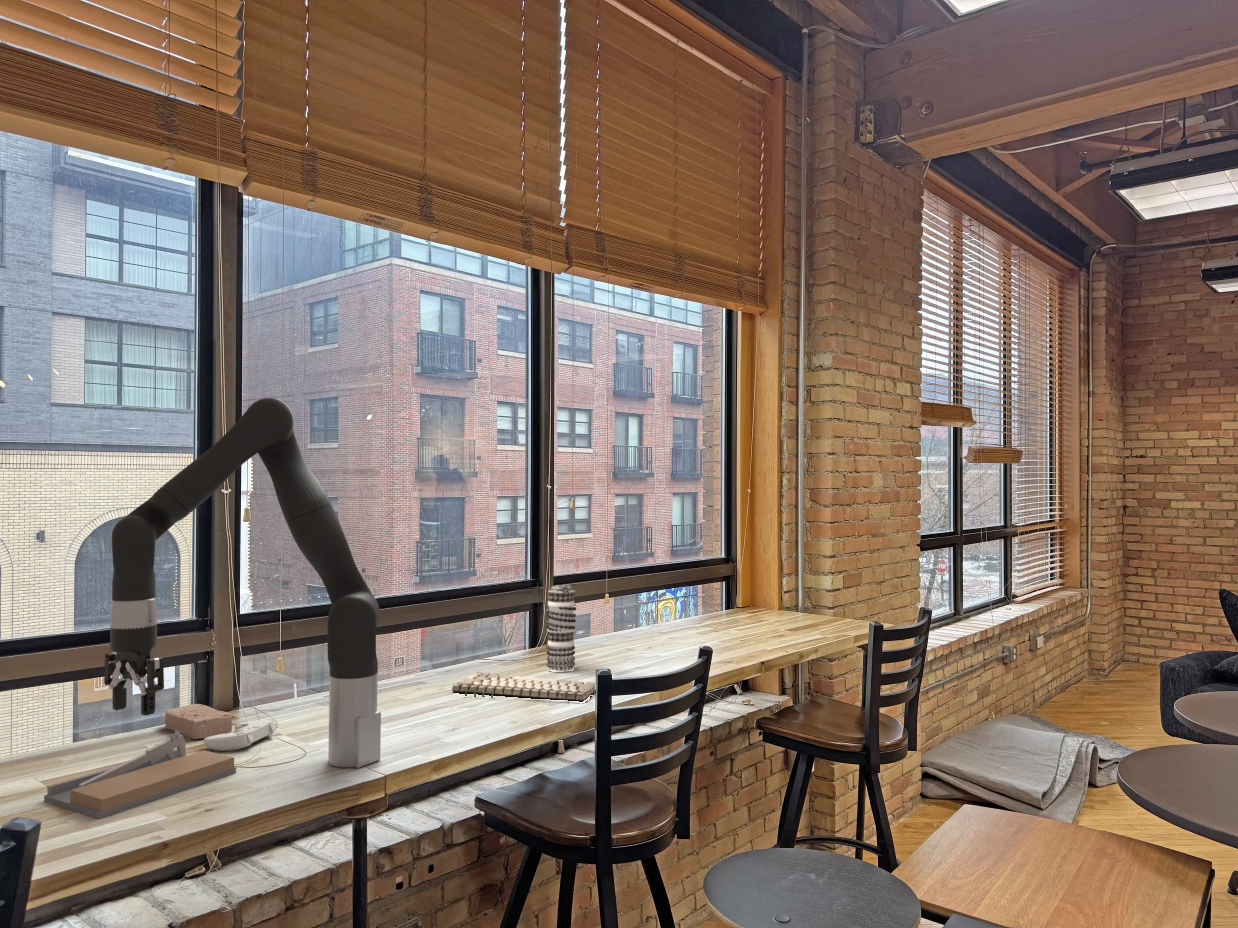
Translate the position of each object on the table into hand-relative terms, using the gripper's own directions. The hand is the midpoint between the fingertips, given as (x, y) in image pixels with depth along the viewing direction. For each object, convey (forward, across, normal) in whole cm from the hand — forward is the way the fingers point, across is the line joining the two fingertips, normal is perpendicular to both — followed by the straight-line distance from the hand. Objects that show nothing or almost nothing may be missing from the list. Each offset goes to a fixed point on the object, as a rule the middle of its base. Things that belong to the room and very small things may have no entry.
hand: (133, 711), depth 158 cm
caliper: (+12, 0, 0) cm, 12 cm away
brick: (+14, +20, -28) cm, 37 cm away
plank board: (+13, -4, 0) cm, 13 cm away
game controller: (+14, +4, -26) cm, 30 cm away
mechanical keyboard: (+15, -23, -93) cm, 97 cm away
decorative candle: (+14, -17, -121) cm, 123 cm away
